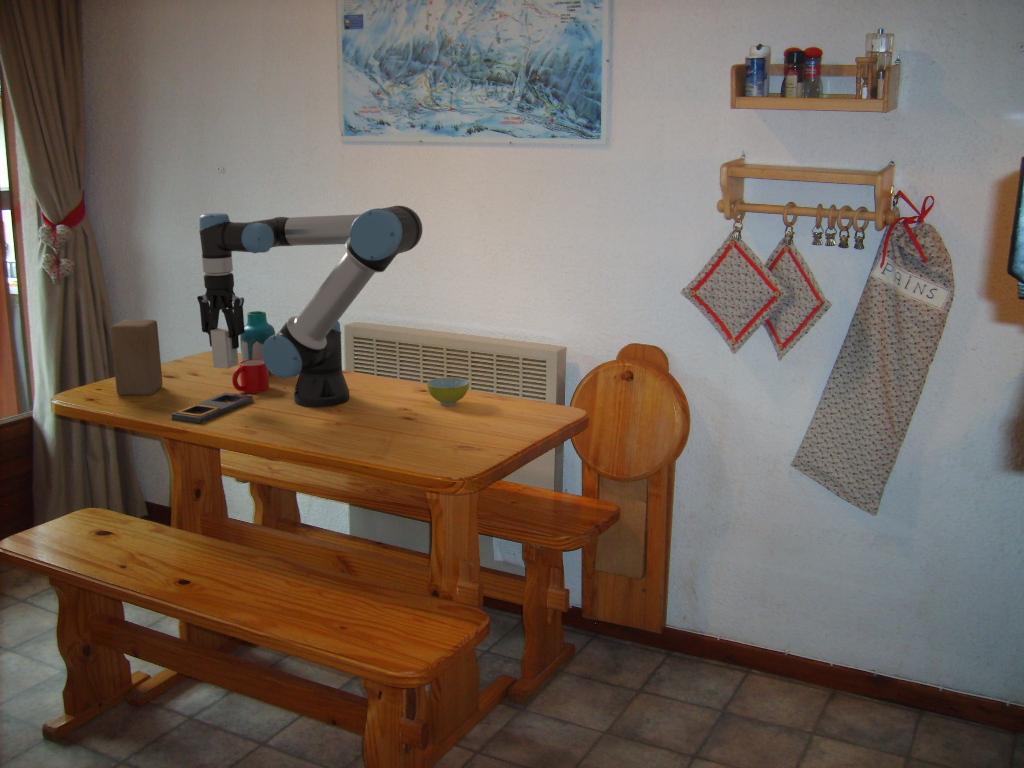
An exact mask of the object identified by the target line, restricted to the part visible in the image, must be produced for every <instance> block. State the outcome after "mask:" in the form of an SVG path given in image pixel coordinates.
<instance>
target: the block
mask: <svg viewBox="0 0 1024 768" xmlns="http://www.w3.org/2000/svg"><path fill="white" fill-rule="evenodd" d="M110 337H111V339H110V340H111V350H112V357H113V366H114V368H113V369H114V378H115V379H114V380H115V388H116V393H117V395H119V396H151V395H152V394H154V393H156V392H157V391H158V390H159V389H161V388H163V372H162V361H161V352H160V339H159V329H158V321H157V320H155V319H129V318H127V319H124V320H120V321H119V322H117V323H114V324H112V325H111V326H110Z"/></svg>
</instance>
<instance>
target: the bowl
mask: <svg viewBox="0 0 1024 768" xmlns="http://www.w3.org/2000/svg"><path fill="white" fill-rule="evenodd" d="M426 385H427V389H428V392H429V394H430V396H431V397H432V398H433V399H434V400H436V401H438V402H439V403H440V404H439V405H441V406H444V407H453V406H456V405H458V401H460V400H461V399H463V398H464V396H466V394H467V393H468V391H469V386H470V381H469V380H467V379H465V378H460V377H438V378H433V379H430V380H428V381H427V383H426Z"/></svg>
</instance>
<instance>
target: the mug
mask: <svg viewBox="0 0 1024 768" xmlns="http://www.w3.org/2000/svg"><path fill="white" fill-rule="evenodd" d="M269 374H270V373H268V368H267V367H266V365H265V363H264V361H263V360H261V359H252V360H245V361H242V360H241V362H239V367H237V368H236V369H235V370H234V372H233V374H232V378H231V381H232V385H233V387H234V389H236V390H237V391H238V392H242V393H243V392H244V393H263V392H266V391H268V390H269V389H270V376H269ZM239 375H240V376H239ZM239 377H240V378H239ZM238 378H239V379H240V384H239V382H238ZM262 391H263V392H262Z"/></svg>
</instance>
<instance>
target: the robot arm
mask: <svg viewBox="0 0 1024 768" xmlns="http://www.w3.org/2000/svg"><path fill="white" fill-rule="evenodd" d="M198 221H199V231H198V232H199V237H200V238H199V239H200V246H201V251H202V254H201V256H202V259H201V260H202V272H203V273H205V274H204V275H203V282H204V283H203V284H204V288H205V289H206V291H205V294H201V295H197V297H196V298H197V299H196V300H197V302H198V304H199V313H200V322H201V325H200V326H201V331H202V333H206V334H207V335H208V337H209V338H208V339H209V347H211V348H212V343H211V330H214V329H218V328H219V321H220V320H219V319H220V311H221V312H222V313H223V315H224V319H225V323H226V325H227V327H226V328H228V330H229V334H230V336H228V350H229V361H234V360H237V359H238V360H239V356H238V355H239V354H238V349H239V347H240V342H239V337H240V335H241V334H244V333H245V330H244V326H245V318H244V307H243V306H244V304H245V303H244V302H245V298H244V297H239V296H237V295H236V294H235V293H236V292H235V291H234V287H235V279H234V273H233V271H234V266H233V256H232V255H233V252H239V253H252V254H257V253H259V254H261V253H262V254H264V253H268V252H269V251H270V250H271V248H277V247H294V246H296V247H297V246H322V245H324V246H329V245H331V246H332V245H333V246H334V245H345V248H346V252H345V253H343V256H342V257H341V258H340V260H338V263H337V264H336V265H335V266H334V268H333V269H332V271H331V272H330V273H329V275H327V278H325V280H324V281H323V282H322V284H321V285H320V286H319V288H318V290H316V292H315V293H314V295H313V296H312V298H311V299H310V300H309V301H308V302H307V304H306V305H305V307H304V308H303V309H302V310H301V312H300V313H299V314H298V316H295V315H294V316H291V317H289V318H288V319H287V320H286V322H285V323H284V325H282V327H281V328H280V330H279V331H278V332H277V333H275V335H272V336H270V337H269V338H268V339H267V340H266V341H265V342H264V344H263V347H262V356H263V361H264V363H265V365H266V367H267V368H268V369H269V371H270V372H271V373H270V374H273V375H274V376H275V377H277V378H281V379H289V378H294V377H297V376H298V378H297V382H296V385H295V388H294V392H293V401H294V403H295V404H297V405H300V406H305V407H317V408H319V407H332V406H337V405H341V404H343V403H346V402H348V401H349V400H350V399H351V398H350V397H351V396H350V389H349V387H348V384H347V380H346V378H345V375H344V373H343V362H342V361H343V359H342V358H343V357H342V330H341V324H340V323H341V322H340V321H339V320H340V319H341V317H342V316H343V315H344V313H345V312H346V311H347V310H348V308H349V307H350V306H351V305H352V303H353V302H354V301H355V299H356V298H357V296H358V295H359V294H360V292H361V291H362V290H363V289H364V288H365V286H366V285H367V284H368V283H369V281H370V280H371V278H373V276H374V275H375V274H376V273H383V272H384V271H386V270H387V268H388V267H389V265H391V263H392V262H393V261H394V259H395V258H396V257H397V256H398V255H399V254H403V253H406V252H409V251H411V250H413V249H414V248H415V247H416V246H417V245H418V244H419V242H420V240H421V239H422V237H423V236H422V235H423V224H422V220H421V218H420V216H419V215H418V213H417V212H415V211H414V210H413V209H412V208H410V207H408V206H404V205H393V206H388V207H383V208H373V209H372V208H371V209H370V210H367V211H365V212H363V213H361V214H360V213H359V214H341V215H340V214H338V215H320V216H319V215H317V216H295V217H287V216H278V217H277V216H275V217H274V218H268V219H262V220H254V221H249V222H248V221H247V222H237V221H236V222H233V221H231V220H230V216H229V215H228V214H227V213H221V212H213V213H204V214H202V215H200V216H199V220H198Z"/></svg>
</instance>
